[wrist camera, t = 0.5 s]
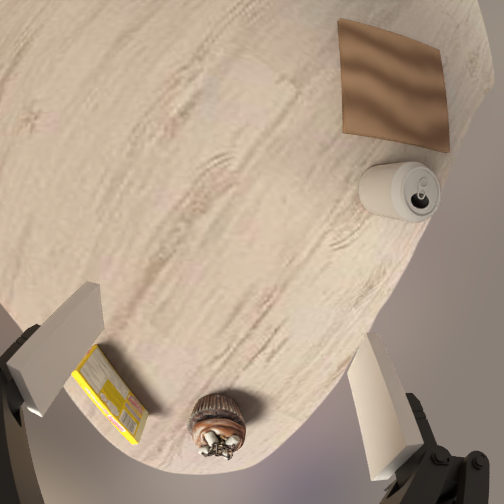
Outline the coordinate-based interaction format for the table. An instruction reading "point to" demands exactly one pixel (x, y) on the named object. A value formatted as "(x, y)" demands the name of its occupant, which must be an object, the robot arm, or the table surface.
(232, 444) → the cupcake
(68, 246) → the table surface
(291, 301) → the table surface
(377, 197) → the can
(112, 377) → the candy box
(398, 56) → the walnut board
